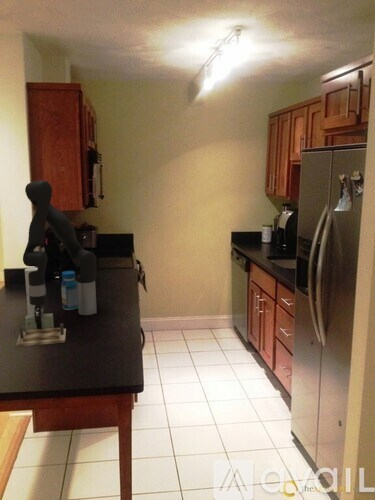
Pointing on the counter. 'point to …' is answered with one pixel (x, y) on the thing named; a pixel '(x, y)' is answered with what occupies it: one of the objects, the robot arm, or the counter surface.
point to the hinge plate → (40, 342)
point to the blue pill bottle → (69, 291)
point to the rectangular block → (46, 319)
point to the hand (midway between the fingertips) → (40, 328)
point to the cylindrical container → (29, 306)
